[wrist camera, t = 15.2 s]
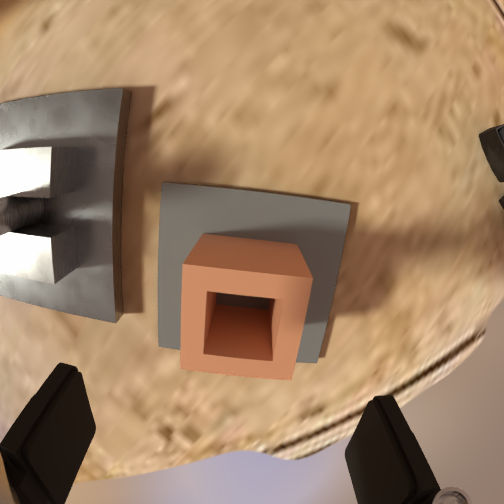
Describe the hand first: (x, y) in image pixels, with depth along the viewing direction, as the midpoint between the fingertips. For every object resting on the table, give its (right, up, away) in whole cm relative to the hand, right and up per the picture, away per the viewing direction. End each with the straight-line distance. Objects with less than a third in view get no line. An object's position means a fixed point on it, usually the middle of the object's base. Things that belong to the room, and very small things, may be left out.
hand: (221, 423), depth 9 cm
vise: (-15, +9, +11) cm, 21 cm away
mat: (+1, +3, +13) cm, 13 cm away
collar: (0, +3, +12) cm, 13 cm away
